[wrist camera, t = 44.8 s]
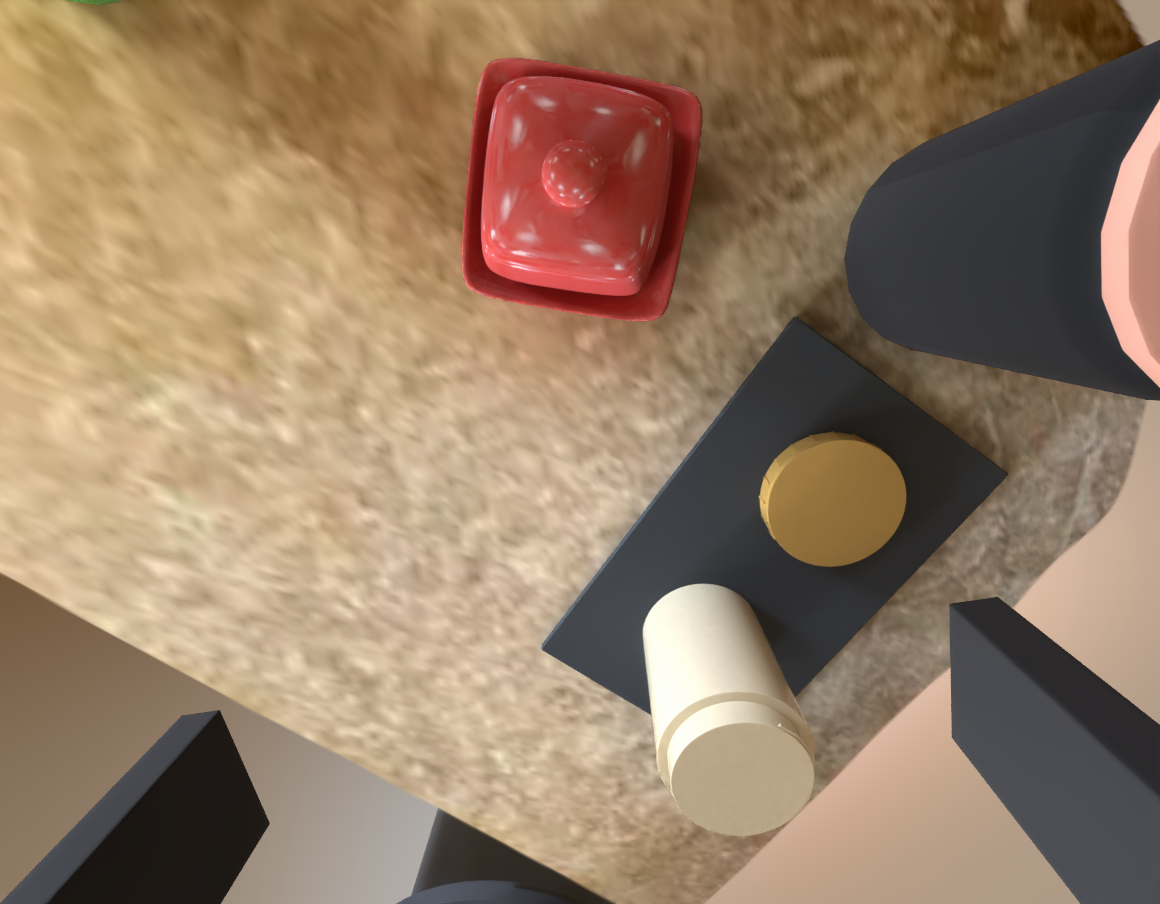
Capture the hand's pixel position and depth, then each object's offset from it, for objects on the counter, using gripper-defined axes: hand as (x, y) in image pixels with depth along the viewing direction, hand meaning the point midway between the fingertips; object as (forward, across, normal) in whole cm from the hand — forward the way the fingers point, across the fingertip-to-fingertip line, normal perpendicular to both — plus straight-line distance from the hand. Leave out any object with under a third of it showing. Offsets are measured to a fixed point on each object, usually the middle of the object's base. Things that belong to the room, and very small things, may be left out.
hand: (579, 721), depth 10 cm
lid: (+23, +13, -7) cm, 27 cm away
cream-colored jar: (+24, +4, -16) cm, 29 cm away
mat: (+25, +8, -11) cm, 28 cm away
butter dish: (+25, +1, +12) cm, 28 cm away
